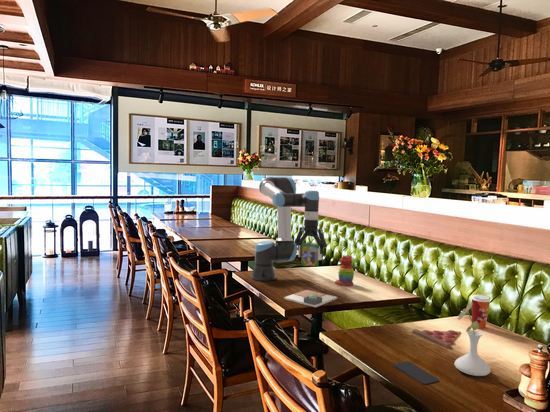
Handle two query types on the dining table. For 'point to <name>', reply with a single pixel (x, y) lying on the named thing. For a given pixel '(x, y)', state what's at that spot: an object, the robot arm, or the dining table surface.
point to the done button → (313, 296)
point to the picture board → (304, 298)
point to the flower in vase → (472, 351)
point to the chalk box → (310, 254)
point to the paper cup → (480, 309)
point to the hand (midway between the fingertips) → (309, 258)
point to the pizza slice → (439, 336)
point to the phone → (416, 373)
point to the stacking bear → (345, 272)
